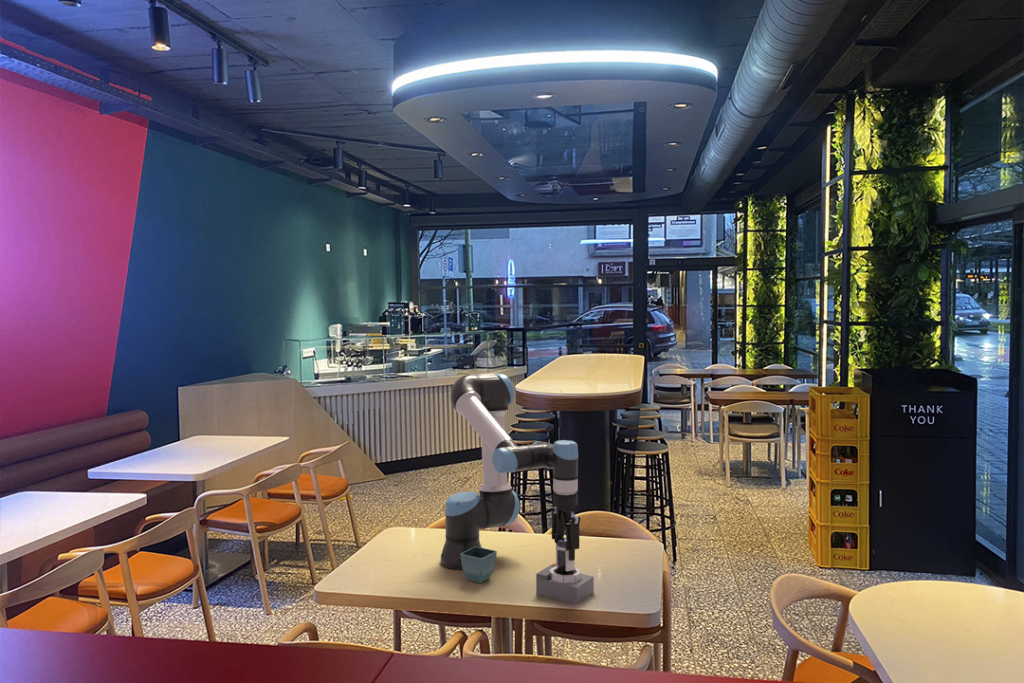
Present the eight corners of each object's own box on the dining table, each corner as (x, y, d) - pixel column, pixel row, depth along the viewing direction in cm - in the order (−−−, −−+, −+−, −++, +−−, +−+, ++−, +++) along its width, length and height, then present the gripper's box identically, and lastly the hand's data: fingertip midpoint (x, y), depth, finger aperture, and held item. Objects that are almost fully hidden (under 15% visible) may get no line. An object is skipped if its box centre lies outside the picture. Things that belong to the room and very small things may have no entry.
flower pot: (482, 586, 224) (482, 558, 223) (459, 581, 228) (459, 553, 228) (497, 578, 231) (497, 550, 231) (475, 572, 236) (475, 546, 235)
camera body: (536, 594, 217) (536, 570, 217) (554, 583, 227) (554, 560, 226) (576, 604, 210) (577, 580, 209) (593, 592, 219) (593, 569, 219)
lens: (562, 576, 214) (562, 543, 214) (553, 571, 219) (553, 538, 219) (576, 574, 217) (577, 540, 216) (568, 568, 221) (568, 536, 221)
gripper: (592, 497, 211) (591, 574, 211) (560, 484, 227) (560, 556, 228) (570, 500, 207) (570, 579, 208) (540, 486, 223) (540, 559, 224)
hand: (565, 567), depth 218 cm, fingers closed on lens, 5 cm apart
